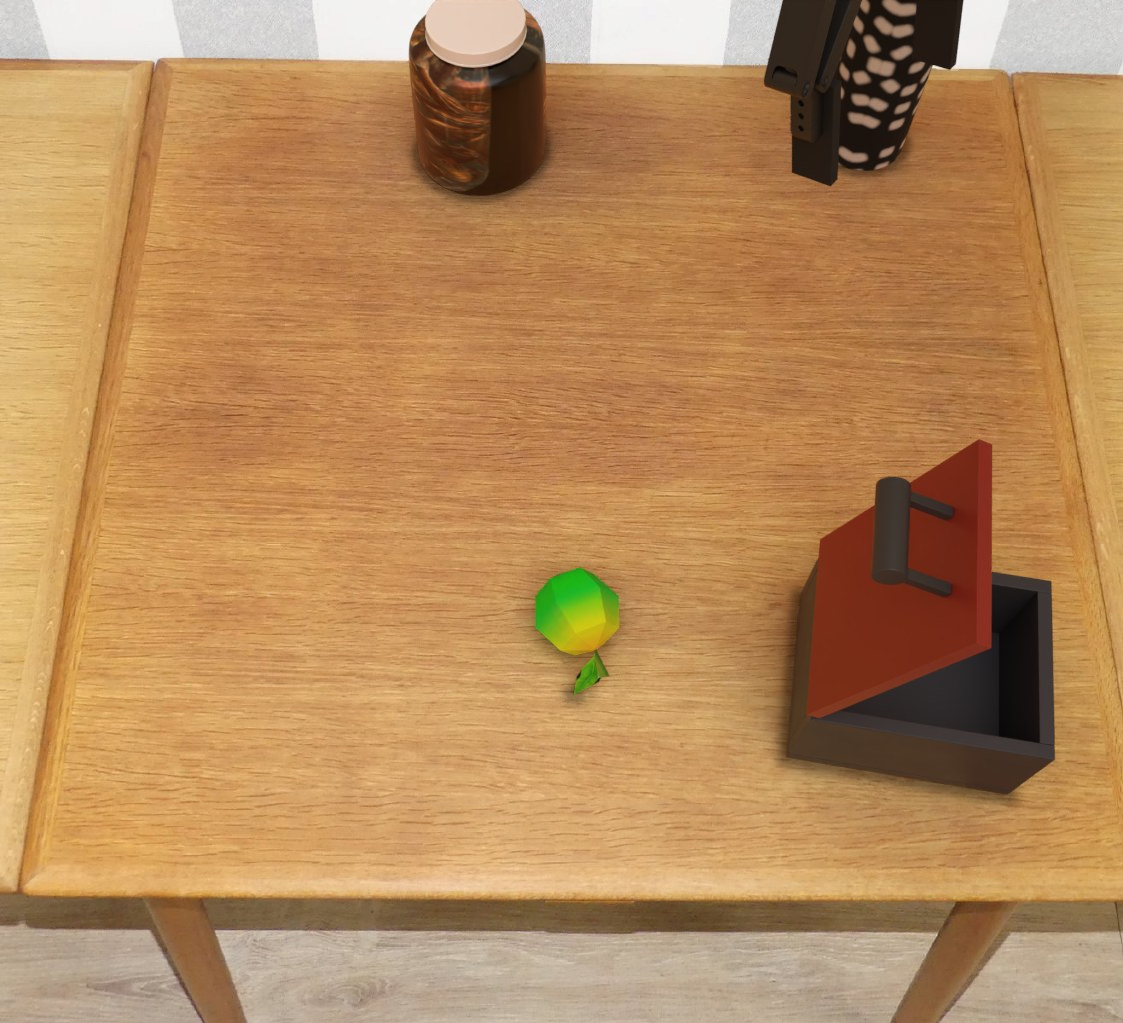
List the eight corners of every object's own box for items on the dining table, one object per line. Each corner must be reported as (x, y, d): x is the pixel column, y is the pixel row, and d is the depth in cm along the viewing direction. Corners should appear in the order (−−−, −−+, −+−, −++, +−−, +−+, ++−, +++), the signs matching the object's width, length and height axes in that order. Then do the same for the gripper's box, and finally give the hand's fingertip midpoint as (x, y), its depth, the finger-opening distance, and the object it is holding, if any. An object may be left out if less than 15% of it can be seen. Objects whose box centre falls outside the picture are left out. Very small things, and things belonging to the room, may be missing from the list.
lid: (992, 444, 72) (907, 410, 70) (991, 648, 66) (899, 616, 64) (831, 543, 86) (757, 517, 85) (819, 718, 80) (739, 694, 79)
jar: (516, 212, 112) (514, 86, 98) (399, 175, 113) (381, 46, 100) (562, 123, 117) (566, -8, 103) (449, 89, 118) (439, -44, 105)
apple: (556, 548, 88) (610, 655, 84) (613, 549, 92) (666, 651, 89) (498, 602, 92) (547, 707, 88) (556, 601, 96) (605, 701, 92)
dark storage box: (1007, 628, 94) (1051, 580, 86) (1008, 794, 88) (1055, 760, 80) (799, 595, 95) (823, 544, 87) (785, 757, 89) (810, 719, 81)
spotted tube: (843, 181, 114) (900, 4, 96) (799, 120, 117) (846, -62, 100) (919, 155, 116) (989, -24, 98) (874, 96, 119) (933, -88, 101)
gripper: (962, -365, 66) (927, 5, 82) (683, -169, 56) (706, 208, 72) (1097, -353, 62) (1032, 32, 79) (824, -140, 52) (814, 251, 68)
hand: (876, 117), depth 75 cm, fingers open, 13 cm apart
